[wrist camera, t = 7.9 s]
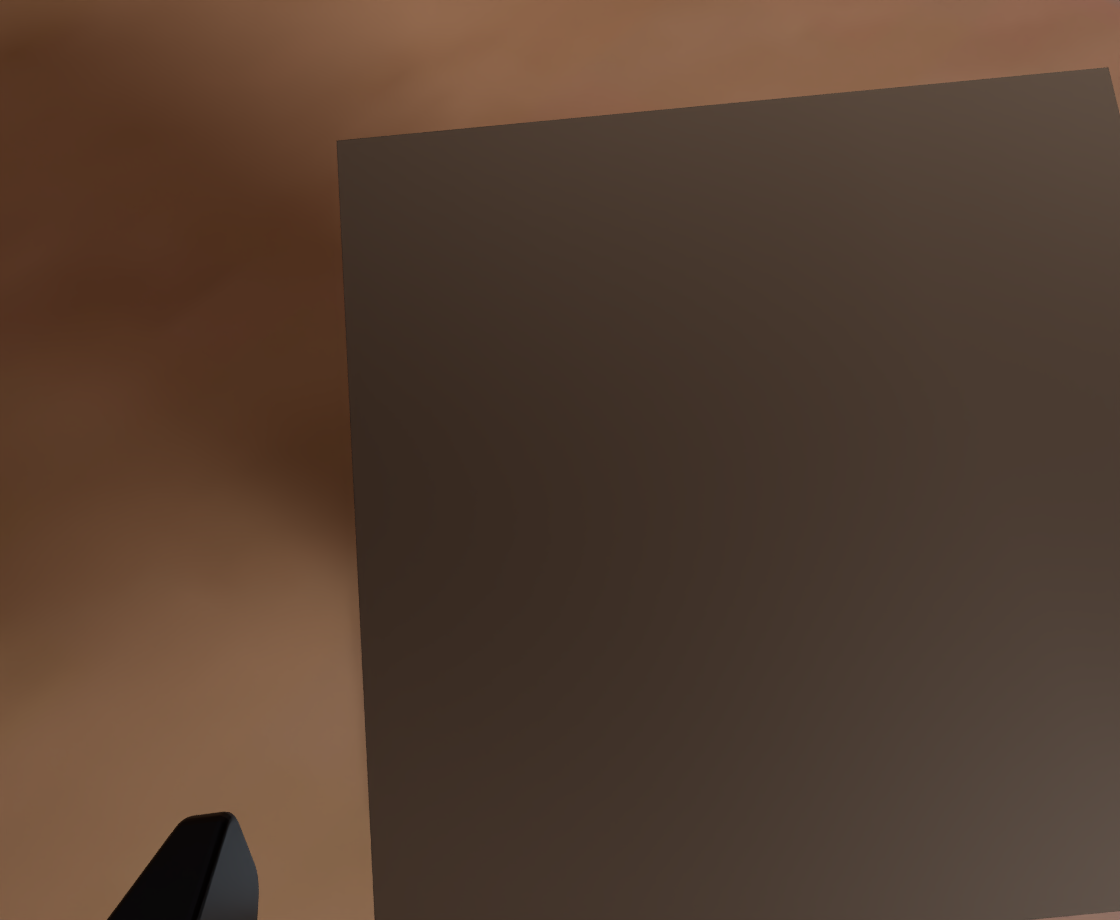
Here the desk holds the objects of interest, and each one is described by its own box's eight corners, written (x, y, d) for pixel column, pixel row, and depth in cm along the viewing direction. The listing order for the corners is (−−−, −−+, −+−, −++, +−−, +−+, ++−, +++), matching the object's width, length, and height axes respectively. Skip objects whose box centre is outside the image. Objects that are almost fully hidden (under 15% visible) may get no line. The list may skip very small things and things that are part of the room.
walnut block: (763, 733, 17) (1304, 895, 4) (529, 755, 17) (375, 982, 4) (732, 503, 18) (1108, 66, 5) (510, 523, 18) (335, 142, 5)
